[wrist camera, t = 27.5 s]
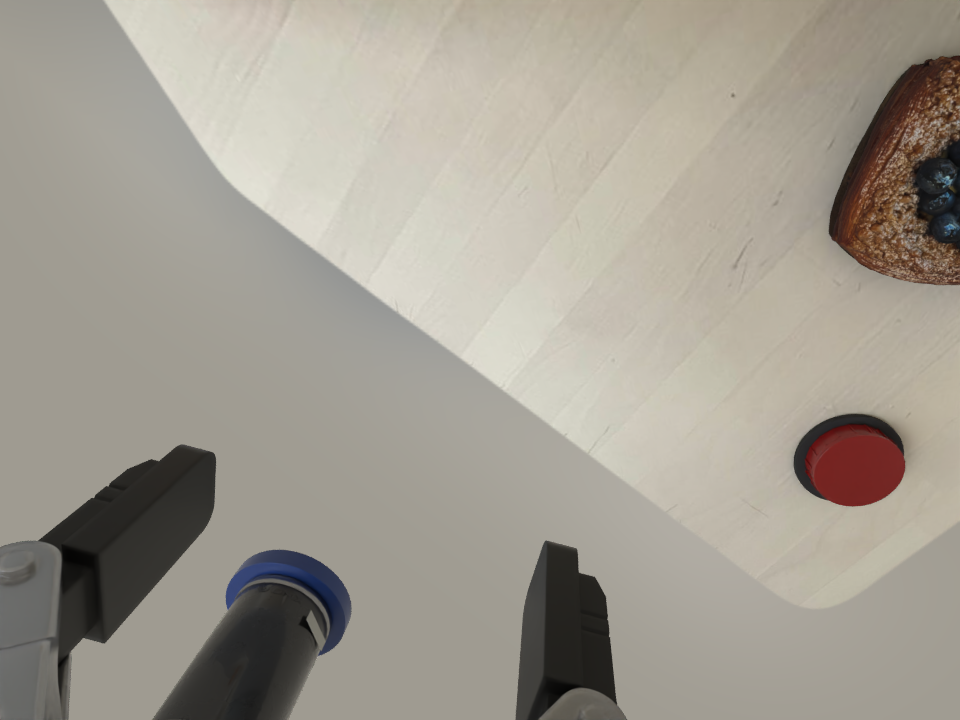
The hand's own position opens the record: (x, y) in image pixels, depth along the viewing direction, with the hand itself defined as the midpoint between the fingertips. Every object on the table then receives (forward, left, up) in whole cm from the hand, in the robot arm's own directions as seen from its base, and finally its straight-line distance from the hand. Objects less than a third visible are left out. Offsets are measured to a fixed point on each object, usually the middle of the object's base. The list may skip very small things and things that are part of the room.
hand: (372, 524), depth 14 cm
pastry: (+11, -24, -28) cm, 39 cm away
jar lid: (-8, -27, -26) cm, 39 cm away
